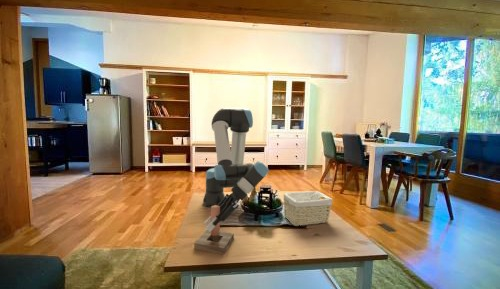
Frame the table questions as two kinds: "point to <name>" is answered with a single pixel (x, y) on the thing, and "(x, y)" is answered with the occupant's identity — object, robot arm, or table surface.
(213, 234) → the pin
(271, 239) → the table surface
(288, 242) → the table surface
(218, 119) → the robot arm
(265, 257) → the table surface
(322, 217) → the storage basket
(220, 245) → the socket block
